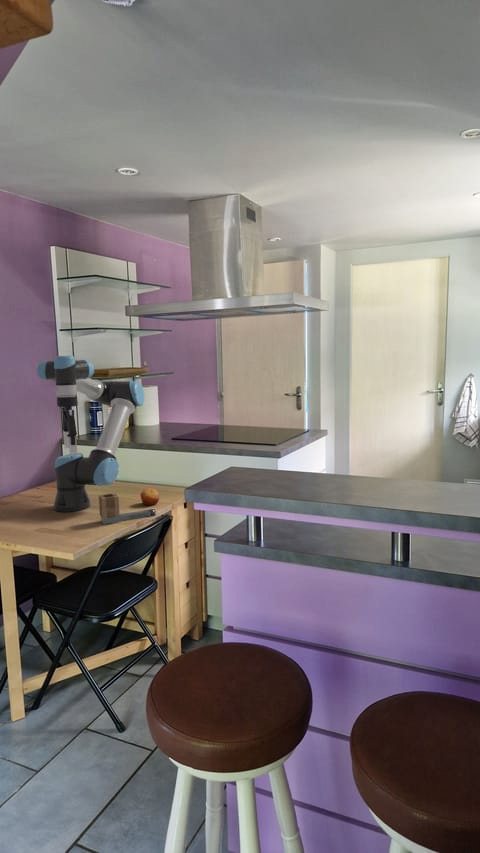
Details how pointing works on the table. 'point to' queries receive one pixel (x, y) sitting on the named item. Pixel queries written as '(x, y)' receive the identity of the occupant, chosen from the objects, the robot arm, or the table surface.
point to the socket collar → (109, 505)
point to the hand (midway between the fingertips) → (70, 450)
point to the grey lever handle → (129, 516)
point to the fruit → (149, 496)
